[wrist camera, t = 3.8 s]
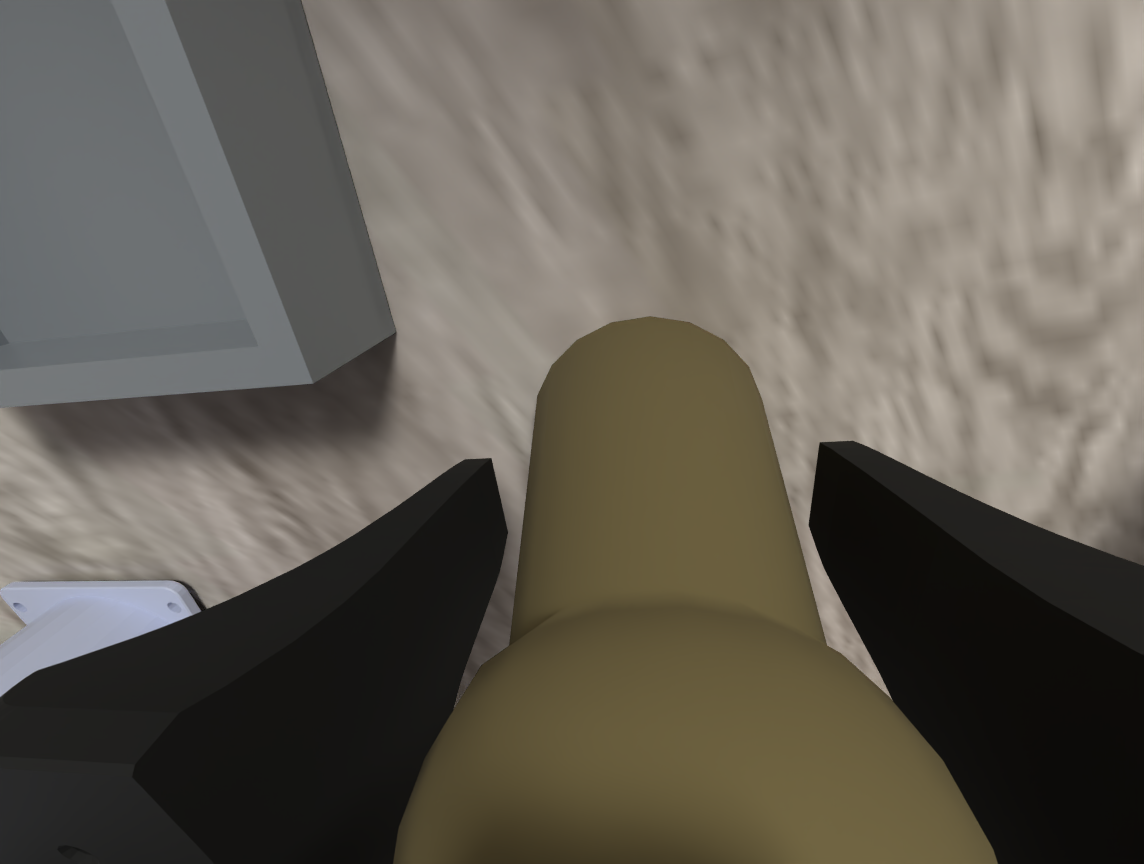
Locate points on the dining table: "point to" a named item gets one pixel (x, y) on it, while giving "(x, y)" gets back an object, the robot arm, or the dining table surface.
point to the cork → (672, 652)
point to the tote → (173, 203)
